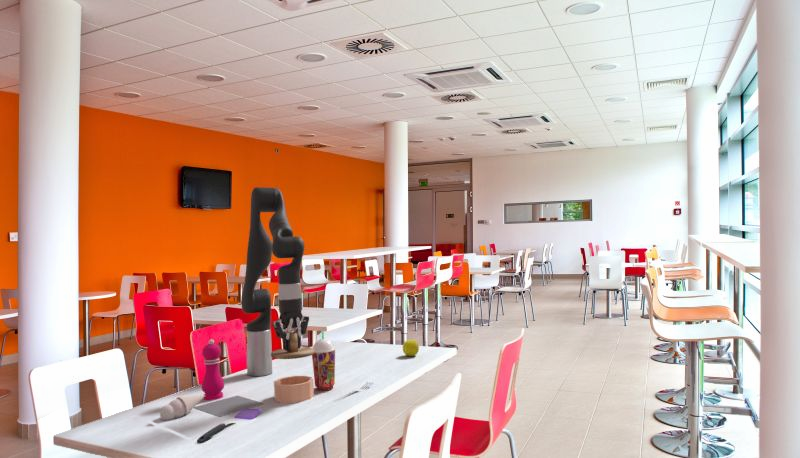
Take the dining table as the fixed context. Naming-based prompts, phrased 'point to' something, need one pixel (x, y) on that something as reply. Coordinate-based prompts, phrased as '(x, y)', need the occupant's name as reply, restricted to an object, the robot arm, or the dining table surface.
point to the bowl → (293, 389)
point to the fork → (353, 391)
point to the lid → (292, 350)
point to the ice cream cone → (179, 407)
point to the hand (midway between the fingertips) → (292, 349)
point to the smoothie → (324, 364)
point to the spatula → (242, 414)
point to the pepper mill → (212, 372)
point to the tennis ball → (410, 348)
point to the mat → (228, 406)
